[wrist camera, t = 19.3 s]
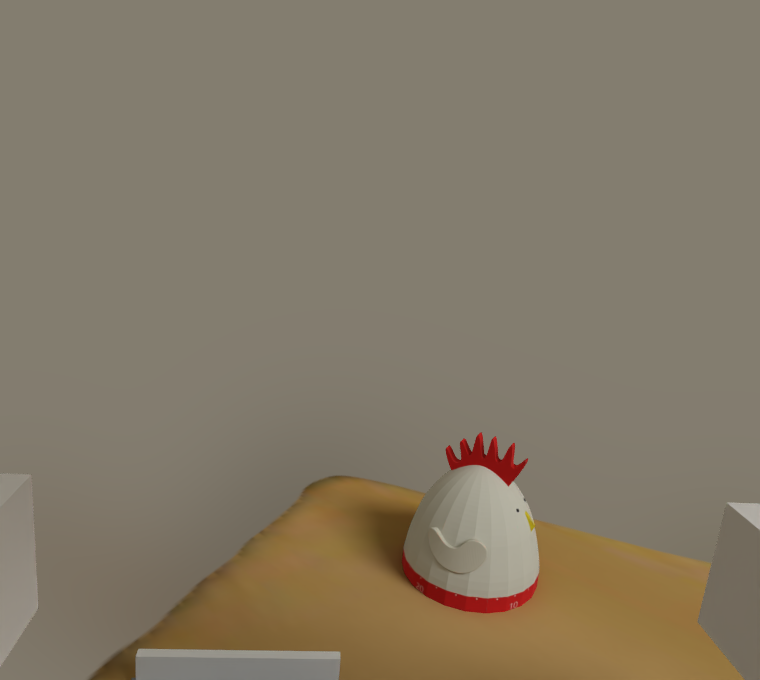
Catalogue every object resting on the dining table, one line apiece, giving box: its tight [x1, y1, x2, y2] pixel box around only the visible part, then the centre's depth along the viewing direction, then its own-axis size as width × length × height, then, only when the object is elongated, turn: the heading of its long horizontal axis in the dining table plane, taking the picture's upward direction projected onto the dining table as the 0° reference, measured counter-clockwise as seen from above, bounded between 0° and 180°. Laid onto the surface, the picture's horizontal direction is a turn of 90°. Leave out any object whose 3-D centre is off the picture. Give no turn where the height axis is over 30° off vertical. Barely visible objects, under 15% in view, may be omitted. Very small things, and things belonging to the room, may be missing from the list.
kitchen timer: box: [402, 433, 539, 613], centre depth 66 cm, size 14×14×15 cm
